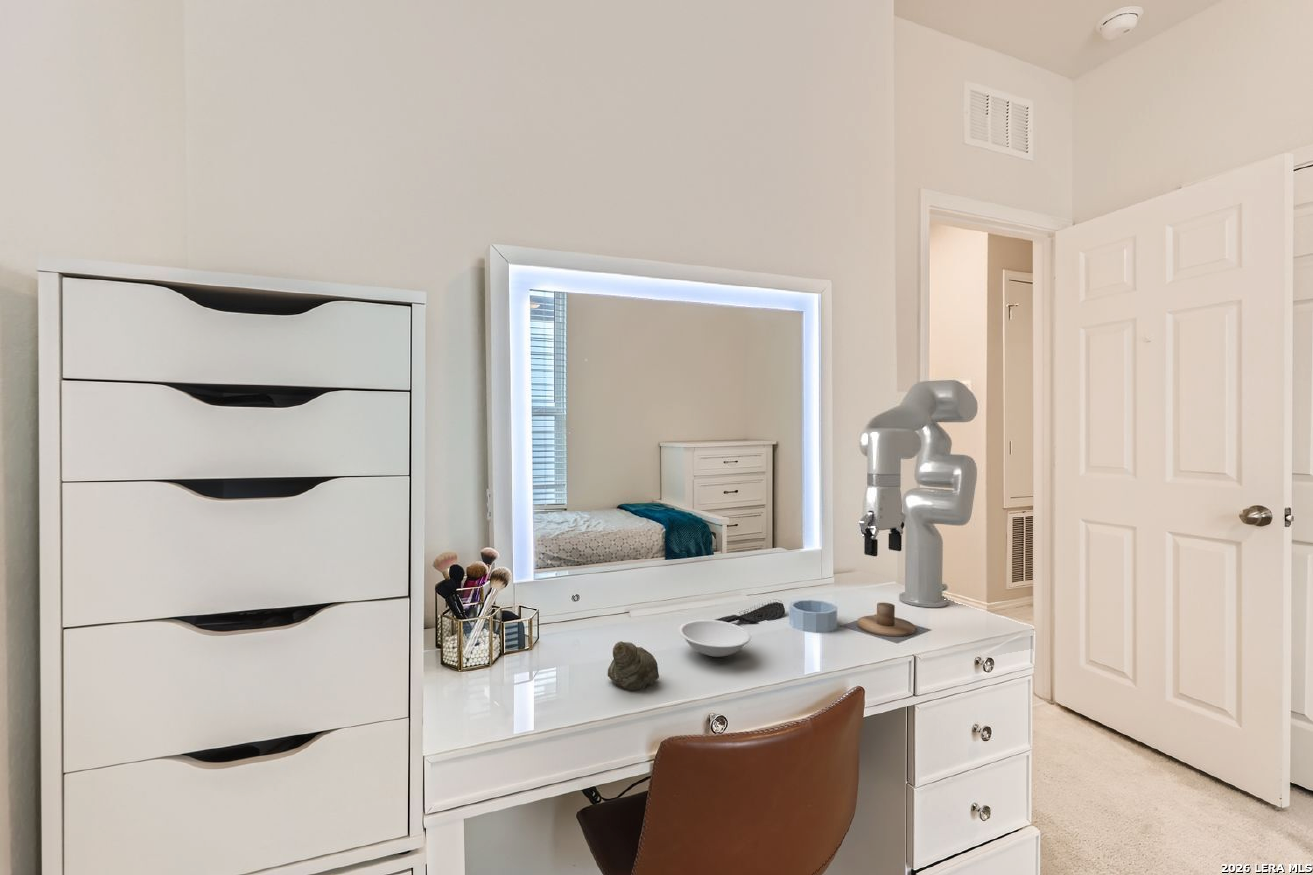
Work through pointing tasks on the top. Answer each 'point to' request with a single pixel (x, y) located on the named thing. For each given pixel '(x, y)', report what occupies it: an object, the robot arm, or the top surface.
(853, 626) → the mat
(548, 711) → the top surface
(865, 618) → the lid
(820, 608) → the bowl
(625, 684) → the seashell
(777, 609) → the hairbrush
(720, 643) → the dish
